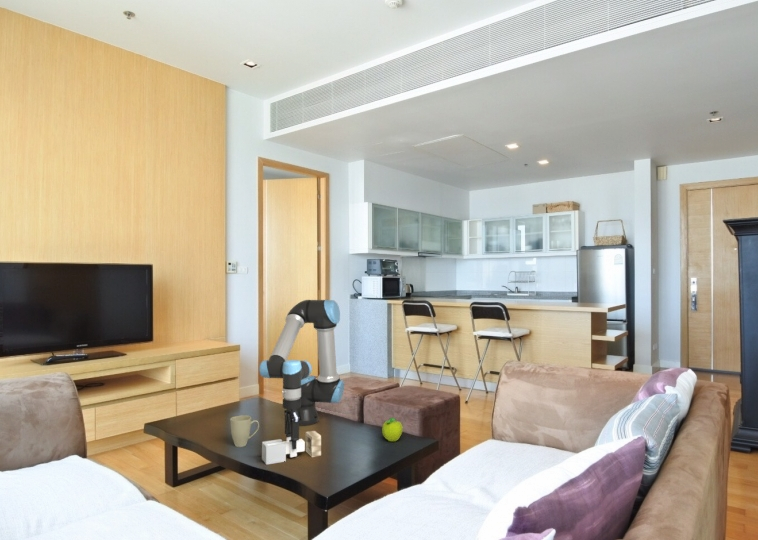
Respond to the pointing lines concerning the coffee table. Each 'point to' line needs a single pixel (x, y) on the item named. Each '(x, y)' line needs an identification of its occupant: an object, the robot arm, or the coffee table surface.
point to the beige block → (313, 443)
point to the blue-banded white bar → (299, 445)
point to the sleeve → (273, 452)
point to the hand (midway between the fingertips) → (291, 454)
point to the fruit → (392, 429)
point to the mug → (241, 429)
